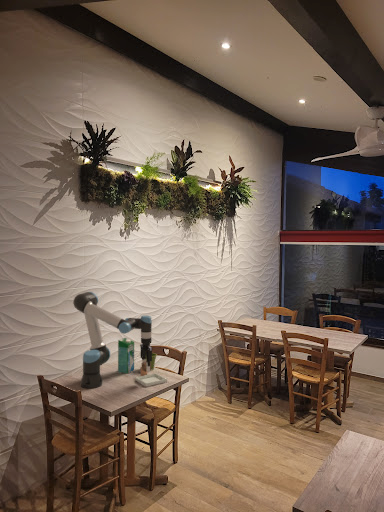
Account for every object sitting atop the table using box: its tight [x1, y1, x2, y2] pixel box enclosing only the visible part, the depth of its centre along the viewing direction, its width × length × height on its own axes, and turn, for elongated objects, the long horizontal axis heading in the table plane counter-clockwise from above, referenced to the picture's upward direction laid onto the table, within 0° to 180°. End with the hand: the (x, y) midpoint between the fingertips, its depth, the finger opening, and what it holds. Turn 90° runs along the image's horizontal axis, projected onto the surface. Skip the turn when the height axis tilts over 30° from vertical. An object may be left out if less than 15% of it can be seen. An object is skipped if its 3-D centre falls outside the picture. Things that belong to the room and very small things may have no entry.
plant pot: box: [146, 352, 158, 371], centre depth 325 cm, size 12×12×11 cm
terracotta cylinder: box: [140, 366, 148, 376], centre depth 306 cm, size 5×5×7 cm
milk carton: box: [117, 337, 135, 374], centre depth 318 cm, size 9×9×25 cm
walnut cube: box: [141, 362, 152, 372], centre depth 293 cm, size 5×5×5 cm
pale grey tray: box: [135, 372, 168, 388], centre depth 296 cm, size 17×15×2 cm
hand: (146, 369), depth 293 cm, fingers closed on walnut cube, 5 cm apart
